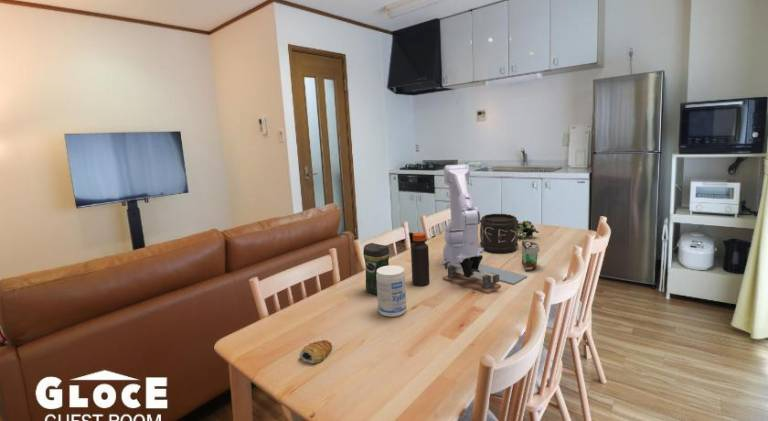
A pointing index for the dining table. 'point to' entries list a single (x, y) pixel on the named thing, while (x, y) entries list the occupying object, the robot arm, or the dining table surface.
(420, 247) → the vinegar
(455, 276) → the wooden stand
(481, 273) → the steel rail
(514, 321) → the dining table surface
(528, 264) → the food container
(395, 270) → the supplement tub
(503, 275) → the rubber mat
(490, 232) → the wooden barrel
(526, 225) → the green leafy bush
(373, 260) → the coffee jar
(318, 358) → the pastry
